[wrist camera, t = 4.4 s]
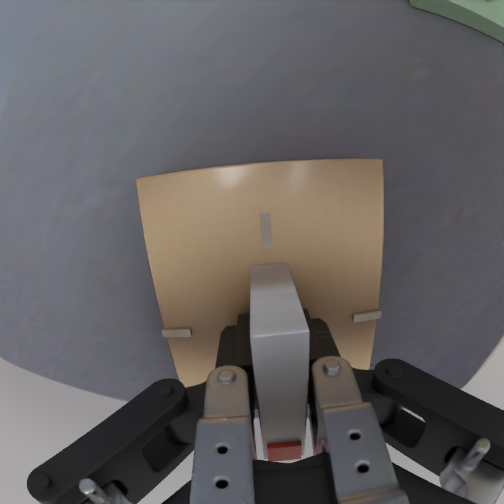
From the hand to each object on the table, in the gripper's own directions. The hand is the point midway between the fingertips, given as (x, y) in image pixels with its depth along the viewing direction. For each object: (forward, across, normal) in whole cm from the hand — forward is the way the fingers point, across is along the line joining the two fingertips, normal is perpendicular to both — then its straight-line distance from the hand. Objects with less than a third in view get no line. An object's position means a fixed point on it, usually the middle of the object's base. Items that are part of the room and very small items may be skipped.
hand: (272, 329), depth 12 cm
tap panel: (+3, 0, -1) cm, 3 cm away
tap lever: (0, 0, 0) cm, 0 cm away
